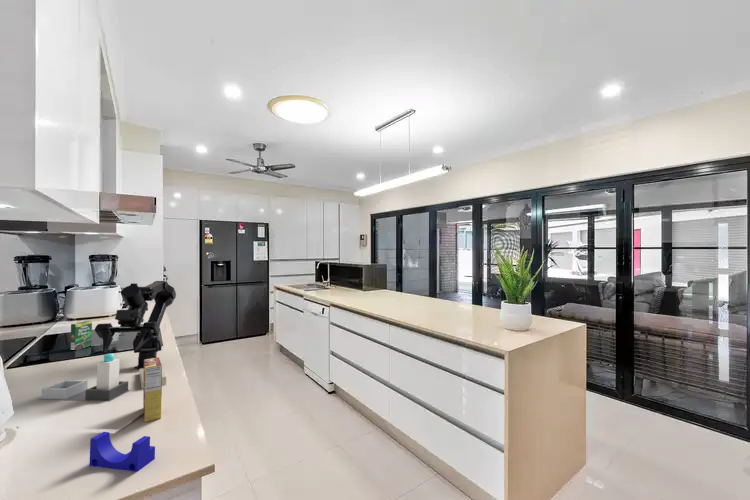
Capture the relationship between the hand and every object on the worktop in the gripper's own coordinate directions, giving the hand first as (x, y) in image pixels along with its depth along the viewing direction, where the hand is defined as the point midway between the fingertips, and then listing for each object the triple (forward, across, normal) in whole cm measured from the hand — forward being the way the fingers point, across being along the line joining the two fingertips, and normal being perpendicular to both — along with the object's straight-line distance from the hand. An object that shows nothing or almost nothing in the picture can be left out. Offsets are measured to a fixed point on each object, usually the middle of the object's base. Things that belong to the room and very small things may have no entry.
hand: (119, 350), depth 113 cm
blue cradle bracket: (+43, +21, -23) cm, 53 cm away
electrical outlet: (+6, +8, +14) cm, 17 cm away
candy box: (+26, +18, -7) cm, 32 cm away
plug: (+14, 0, +4) cm, 14 cm away
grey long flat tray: (+13, -7, +6) cm, 16 cm away
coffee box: (-33, -41, +51) cm, 73 cm away
